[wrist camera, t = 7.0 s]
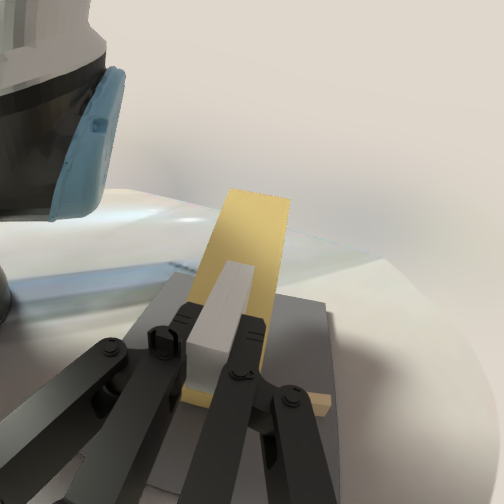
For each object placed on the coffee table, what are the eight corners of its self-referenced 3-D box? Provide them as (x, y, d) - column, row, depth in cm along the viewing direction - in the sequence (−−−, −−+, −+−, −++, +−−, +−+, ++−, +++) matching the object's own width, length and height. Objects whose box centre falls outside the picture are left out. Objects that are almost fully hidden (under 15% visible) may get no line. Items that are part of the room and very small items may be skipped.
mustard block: (254, 404, 13) (290, 199, 23) (158, 380, 13) (230, 188, 24) (247, 416, 17) (281, 240, 27) (174, 399, 17) (228, 230, 28)
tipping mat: (335, 515, 11) (350, 505, 10) (58, 442, 12) (47, 425, 12) (323, 308, 33) (328, 292, 32) (174, 277, 34) (175, 260, 33)
